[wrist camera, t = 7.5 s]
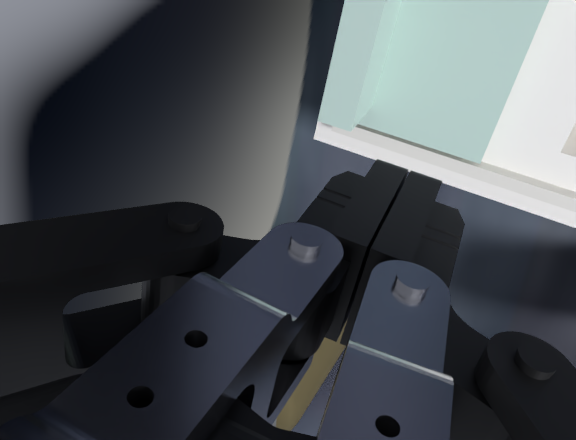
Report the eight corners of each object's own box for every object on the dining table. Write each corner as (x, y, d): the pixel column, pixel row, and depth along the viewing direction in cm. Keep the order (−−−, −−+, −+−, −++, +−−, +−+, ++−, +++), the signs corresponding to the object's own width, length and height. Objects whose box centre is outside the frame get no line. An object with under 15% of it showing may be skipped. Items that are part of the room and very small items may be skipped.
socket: (868, -21, 23) (972, 2, 17) (697, 218, 29) (734, 290, 24) (403, -121, 27) (368, -129, 22) (346, 105, 34) (308, 144, 28)
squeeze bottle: (382, 265, 38) (285, 486, 24) (348, 343, 43) (248, 569, 28) (278, 219, 40) (126, 400, 25) (256, 299, 44) (116, 491, 30)
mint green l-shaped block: (558, -25, 21) (561, -11, 18) (481, 157, 26) (472, 196, 22) (386, -66, 23) (358, -61, 19) (341, 112, 27) (312, 142, 24)
